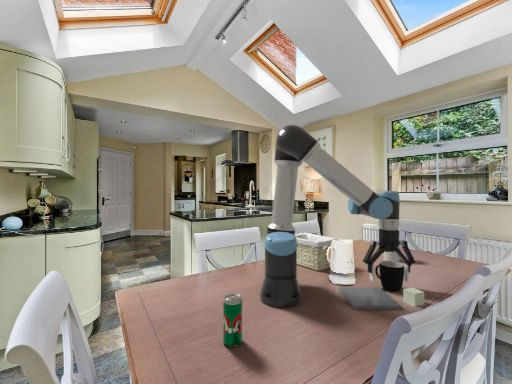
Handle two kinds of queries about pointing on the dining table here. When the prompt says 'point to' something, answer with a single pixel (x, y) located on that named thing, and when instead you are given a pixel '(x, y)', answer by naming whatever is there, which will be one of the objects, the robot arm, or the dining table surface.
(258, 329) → the dining table surface
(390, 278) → the mug
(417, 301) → the sage block
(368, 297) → the slate trivet
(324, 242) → the storage basket
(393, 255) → the cup
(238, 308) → the soda can
